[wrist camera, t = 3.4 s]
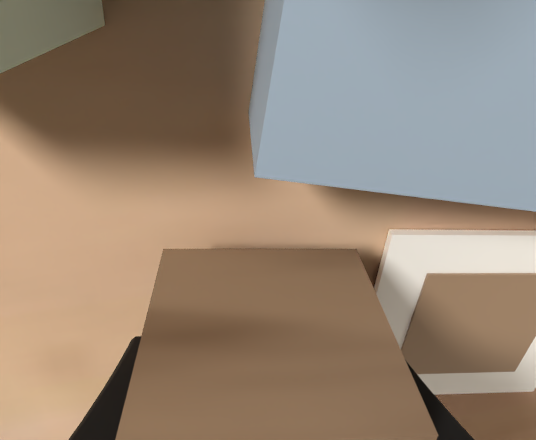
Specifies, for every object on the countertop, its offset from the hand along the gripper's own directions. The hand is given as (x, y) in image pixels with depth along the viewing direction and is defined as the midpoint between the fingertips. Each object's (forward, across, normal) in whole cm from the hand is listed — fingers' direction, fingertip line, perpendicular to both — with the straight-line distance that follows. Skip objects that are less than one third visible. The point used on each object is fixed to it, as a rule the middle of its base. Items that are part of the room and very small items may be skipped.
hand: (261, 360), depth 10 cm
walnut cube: (+2, 0, 0) cm, 2 cm away
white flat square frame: (+3, -8, +2) cm, 9 cm away
